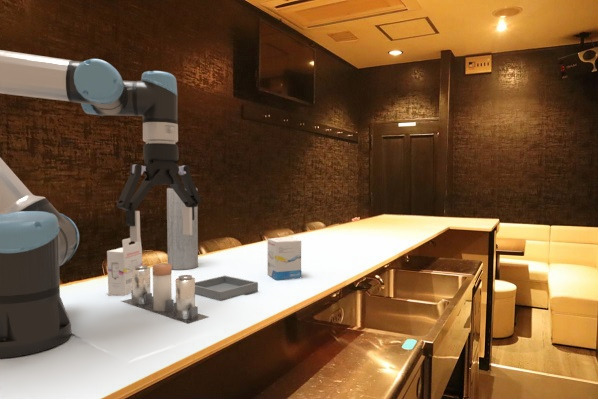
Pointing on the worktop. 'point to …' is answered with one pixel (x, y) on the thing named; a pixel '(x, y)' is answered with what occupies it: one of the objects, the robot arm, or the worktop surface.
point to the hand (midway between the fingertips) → (162, 237)
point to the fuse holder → (178, 311)
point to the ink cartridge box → (123, 267)
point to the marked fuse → (161, 285)
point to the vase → (180, 235)
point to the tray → (225, 287)
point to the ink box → (284, 258)
